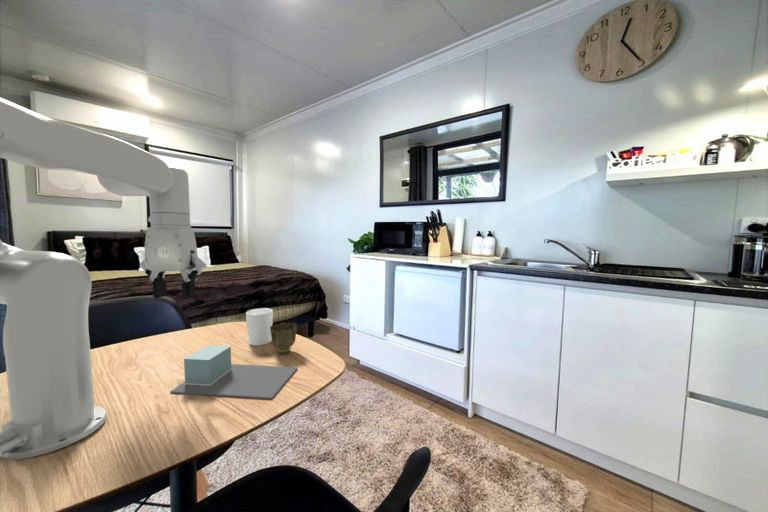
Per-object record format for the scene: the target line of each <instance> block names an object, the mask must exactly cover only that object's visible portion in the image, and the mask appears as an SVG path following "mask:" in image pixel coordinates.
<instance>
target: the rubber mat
mask: <svg viewBox="0 0 768 512" xmlns="http://www.w3.org/2000/svg"><path fill="white" fill-rule="evenodd" d="M297 371H298V367H294V366H277V365H274V366H273V365H258V364H257V365H256V364H255V365H254V364H240V363H239V364H238V363H237V364H236V363H231V370H230V371H229V372H228V373H226V374H225V375H224V376H222V377H221V378H220V379H218V380H217V381H216V382H214V383H213V384H212V385H210V386H204V385H188V384H185V381H184V382H183V383H181V384H179V385H177V386H176V387H174V388H173V389H171V390H170V394H178V395H179V394H181V395H193V396H194V395H196V396H197V395H198V396H211V397H227V398H228V397H230V398H242V399H243V398H244V399H247V398H248V399H257V400H258V399H259V400H261V399H262V400H273V399H274V398H275V396H276V395H277V394H278V393H279V391H281V389H282V388H283V387H284V386H285V384H286V383H287V382H288V380H289V379H291V377H293V375H294V374H295V372H297Z"/></svg>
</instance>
